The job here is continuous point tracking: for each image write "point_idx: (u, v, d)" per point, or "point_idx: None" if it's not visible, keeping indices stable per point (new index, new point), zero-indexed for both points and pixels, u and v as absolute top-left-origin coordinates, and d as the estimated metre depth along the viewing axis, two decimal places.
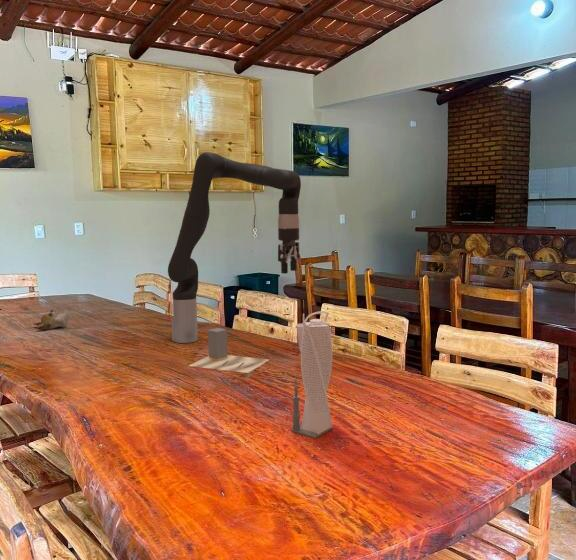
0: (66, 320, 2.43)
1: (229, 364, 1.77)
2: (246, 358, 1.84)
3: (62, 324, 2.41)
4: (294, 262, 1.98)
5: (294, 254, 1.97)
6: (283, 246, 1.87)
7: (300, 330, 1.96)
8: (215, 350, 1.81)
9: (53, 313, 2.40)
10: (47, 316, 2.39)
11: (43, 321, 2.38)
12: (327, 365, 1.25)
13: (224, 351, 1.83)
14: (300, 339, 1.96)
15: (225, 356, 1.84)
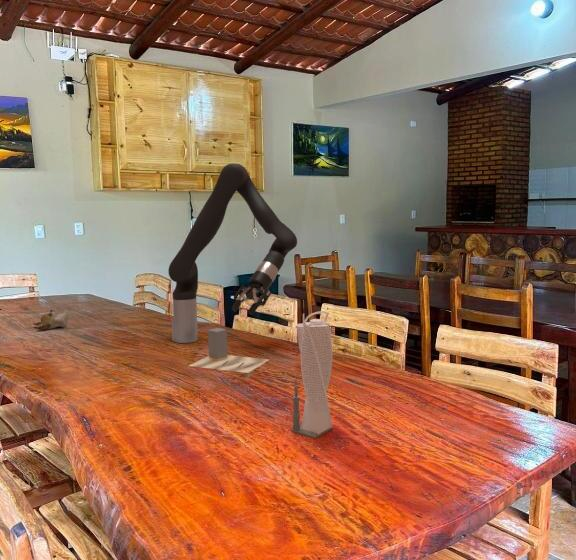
0: (66, 320, 2.43)
1: (229, 364, 1.77)
2: (246, 358, 1.84)
3: (62, 324, 2.41)
4: (239, 304, 1.95)
5: (247, 299, 1.96)
6: (270, 293, 1.91)
7: (300, 330, 1.96)
8: (215, 350, 1.81)
9: (53, 313, 2.40)
10: (46, 316, 2.39)
11: (43, 321, 2.38)
12: (327, 365, 1.25)
13: (224, 351, 1.83)
14: (300, 339, 1.96)
15: (225, 356, 1.84)
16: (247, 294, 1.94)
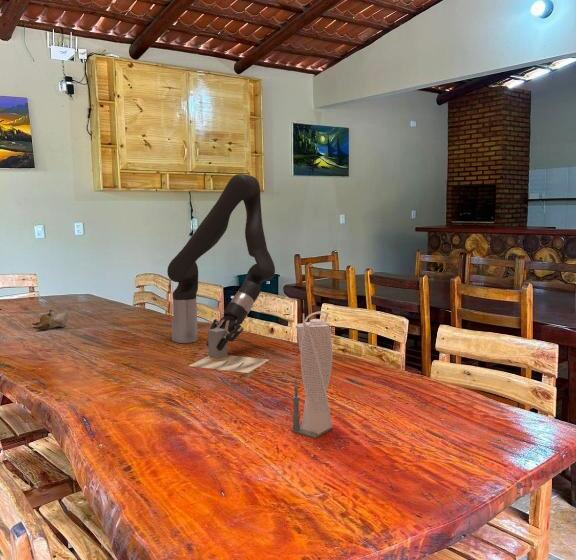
0: (65, 320, 2.43)
1: (229, 364, 1.77)
2: (246, 358, 1.84)
3: (61, 324, 2.41)
4: None
5: None
6: (242, 329, 1.82)
7: (300, 330, 1.96)
8: (215, 350, 1.81)
9: (52, 313, 2.40)
10: (46, 316, 2.39)
11: (42, 321, 2.38)
12: (327, 365, 1.25)
13: (224, 351, 1.83)
14: (300, 339, 1.96)
15: (225, 356, 1.84)
16: (222, 327, 1.85)
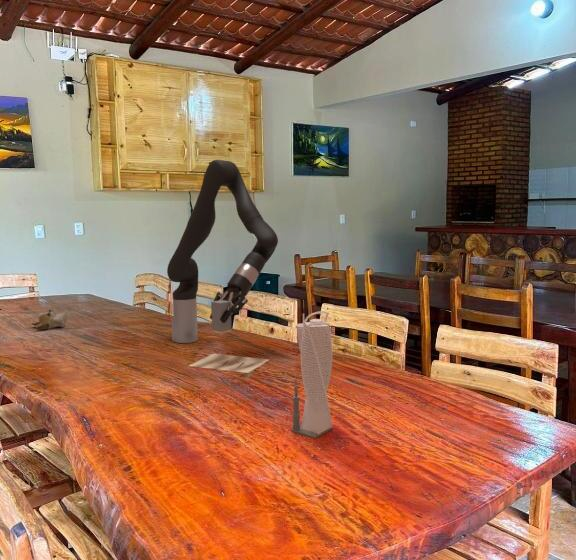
0: (64, 320, 2.43)
1: (229, 364, 1.77)
2: (246, 358, 1.84)
3: (60, 324, 2.41)
4: None
5: None
6: (246, 301, 1.76)
7: (300, 330, 1.96)
8: (218, 322, 1.75)
9: (51, 313, 2.40)
10: (45, 316, 2.39)
11: (41, 321, 2.38)
12: (327, 365, 1.25)
13: (228, 324, 1.77)
14: (300, 339, 1.96)
15: (229, 329, 1.77)
16: (226, 299, 1.79)
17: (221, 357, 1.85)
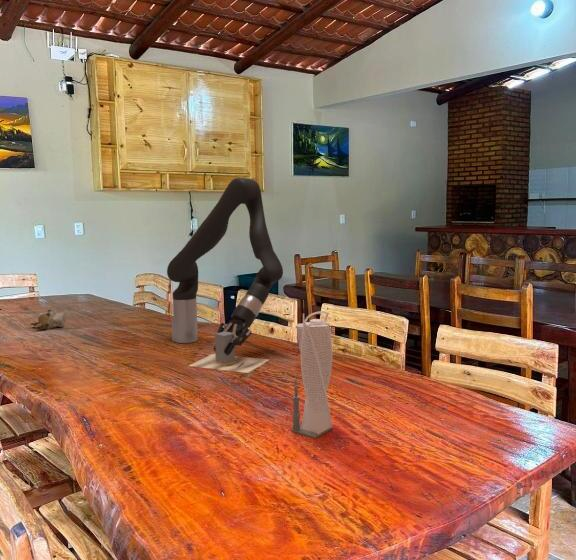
0: (64, 320, 2.44)
1: None
2: (246, 358, 1.84)
3: (60, 324, 2.42)
4: None
5: None
6: (250, 333, 1.77)
7: (300, 330, 1.96)
8: (222, 354, 1.76)
9: (51, 313, 2.41)
10: (45, 316, 2.39)
11: (41, 321, 2.38)
12: (327, 365, 1.25)
13: (232, 355, 1.78)
14: (300, 339, 1.96)
15: (233, 360, 1.78)
16: (230, 330, 1.80)
17: None
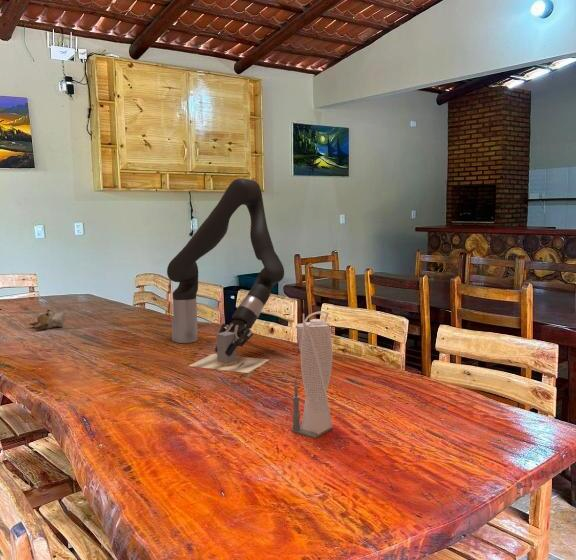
0: (63, 319, 2.44)
1: None
2: (246, 358, 1.84)
3: (59, 324, 2.42)
4: None
5: None
6: (251, 334, 1.77)
7: (300, 330, 1.96)
8: (224, 354, 1.76)
9: (50, 313, 2.41)
10: (44, 315, 2.39)
11: (40, 321, 2.38)
12: (327, 365, 1.25)
13: (233, 355, 1.77)
14: (300, 339, 1.96)
15: (234, 360, 1.78)
16: (231, 331, 1.80)
17: None
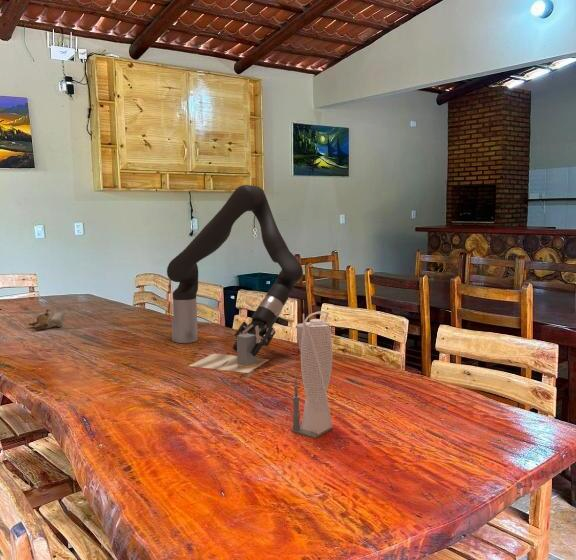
0: (62, 319, 2.44)
1: (229, 364, 1.77)
2: None
3: (58, 323, 2.42)
4: None
5: None
6: (274, 332, 1.74)
7: (300, 330, 1.96)
8: (244, 356, 1.73)
9: (49, 313, 2.41)
10: (43, 315, 2.39)
11: (39, 321, 2.39)
12: (327, 365, 1.25)
13: (253, 357, 1.75)
14: (300, 339, 1.96)
15: (254, 363, 1.75)
16: (249, 332, 1.77)
17: (221, 357, 1.85)
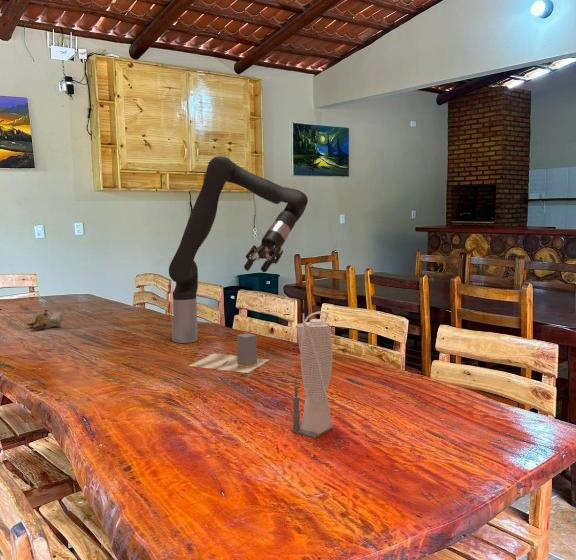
0: (61, 319, 2.44)
1: (229, 364, 1.77)
2: None
3: (57, 323, 2.42)
4: (251, 263, 1.94)
5: (259, 258, 1.95)
6: (282, 251, 1.90)
7: (300, 330, 1.96)
8: (244, 356, 1.73)
9: (48, 313, 2.41)
10: (42, 315, 2.39)
11: (38, 321, 2.39)
12: (327, 365, 1.25)
13: (253, 357, 1.75)
14: (300, 339, 1.96)
15: (254, 363, 1.75)
16: (259, 253, 1.93)
17: (221, 357, 1.85)
